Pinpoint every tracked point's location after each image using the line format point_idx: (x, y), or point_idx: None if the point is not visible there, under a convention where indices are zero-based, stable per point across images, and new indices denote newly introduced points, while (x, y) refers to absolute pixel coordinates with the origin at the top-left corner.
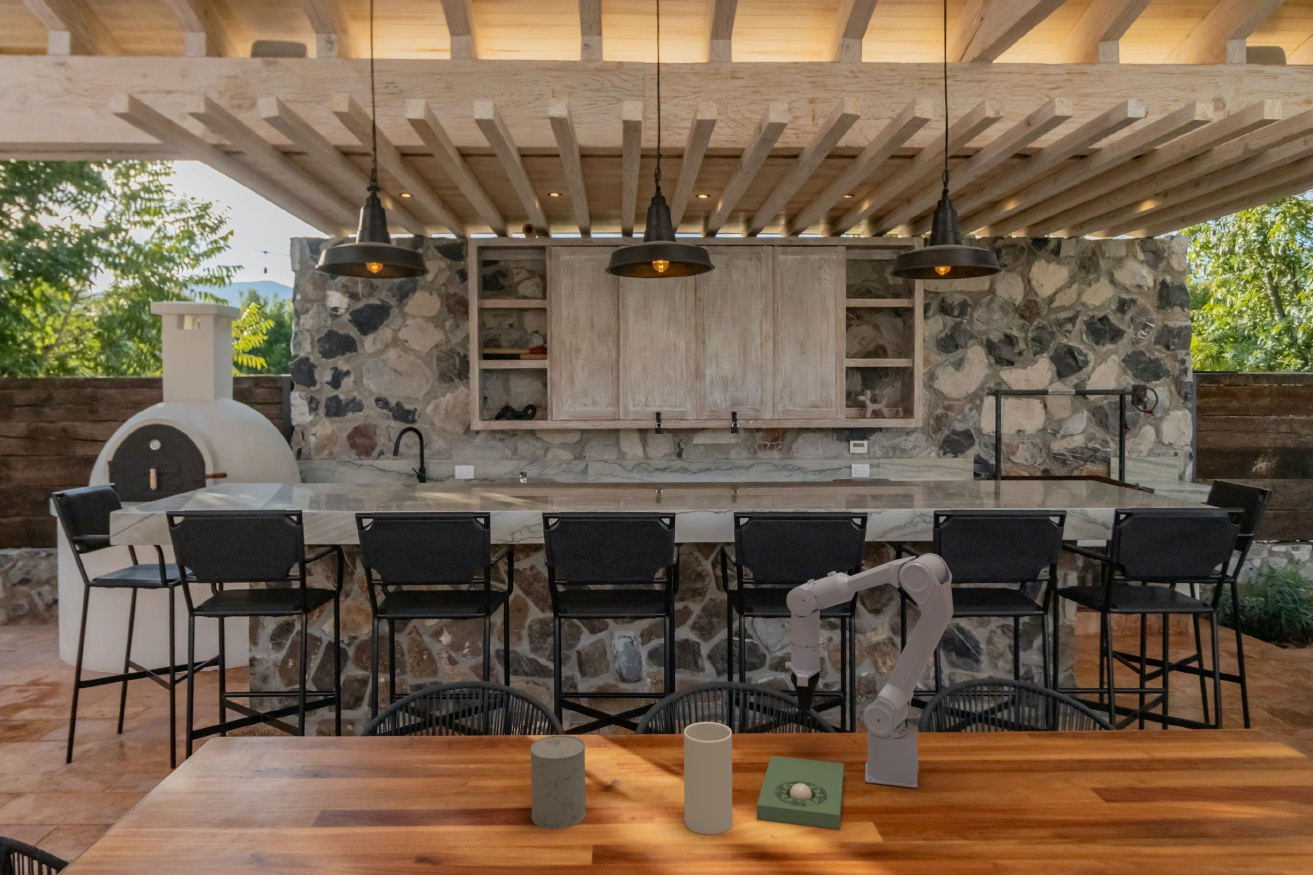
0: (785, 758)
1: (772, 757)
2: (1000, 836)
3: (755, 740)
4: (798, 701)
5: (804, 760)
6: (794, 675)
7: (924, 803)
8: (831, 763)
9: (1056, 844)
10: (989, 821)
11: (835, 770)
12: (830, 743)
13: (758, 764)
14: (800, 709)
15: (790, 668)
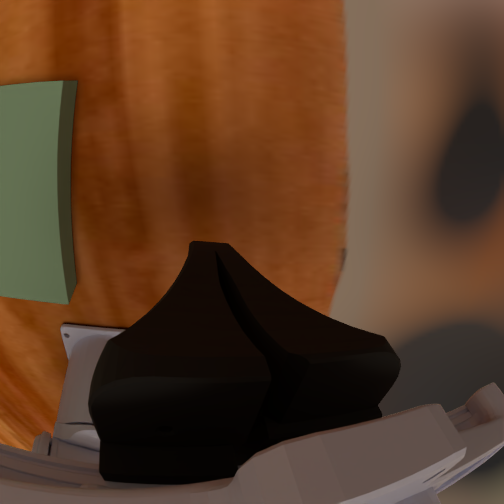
0: (48, 134)
1: (50, 88)
2: (11, 425)
3: (293, 30)
4: (186, 259)
5: (49, 198)
6: (209, 407)
7: (37, 387)
8: (55, 274)
9: (28, 450)
10: (36, 427)
11: (22, 282)
12: (275, 257)
13: (100, 38)
14: (190, 243)
15: (214, 486)
